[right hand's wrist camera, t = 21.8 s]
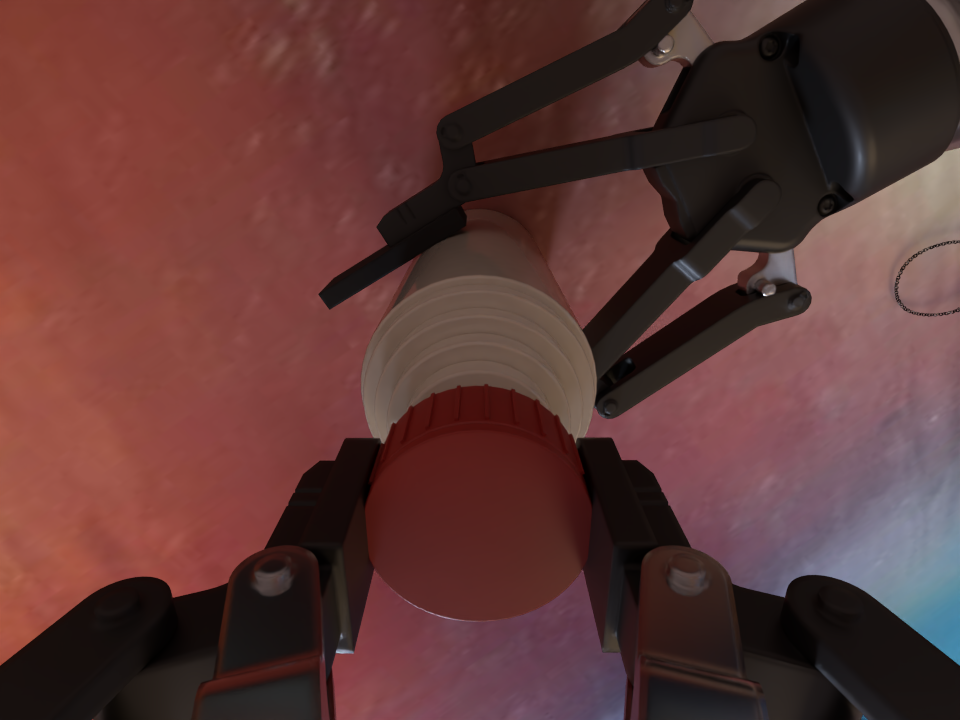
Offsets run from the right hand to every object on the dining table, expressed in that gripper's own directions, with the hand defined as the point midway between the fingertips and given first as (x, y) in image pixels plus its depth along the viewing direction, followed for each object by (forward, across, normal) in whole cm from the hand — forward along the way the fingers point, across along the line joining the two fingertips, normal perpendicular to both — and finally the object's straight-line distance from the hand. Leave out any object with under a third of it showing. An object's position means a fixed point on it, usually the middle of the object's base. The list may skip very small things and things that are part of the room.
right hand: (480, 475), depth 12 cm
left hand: (+13, -4, -3) cm, 14 cm away
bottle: (+19, 0, 0) cm, 19 cm away
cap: (-2, 0, 0) cm, 2 cm away
